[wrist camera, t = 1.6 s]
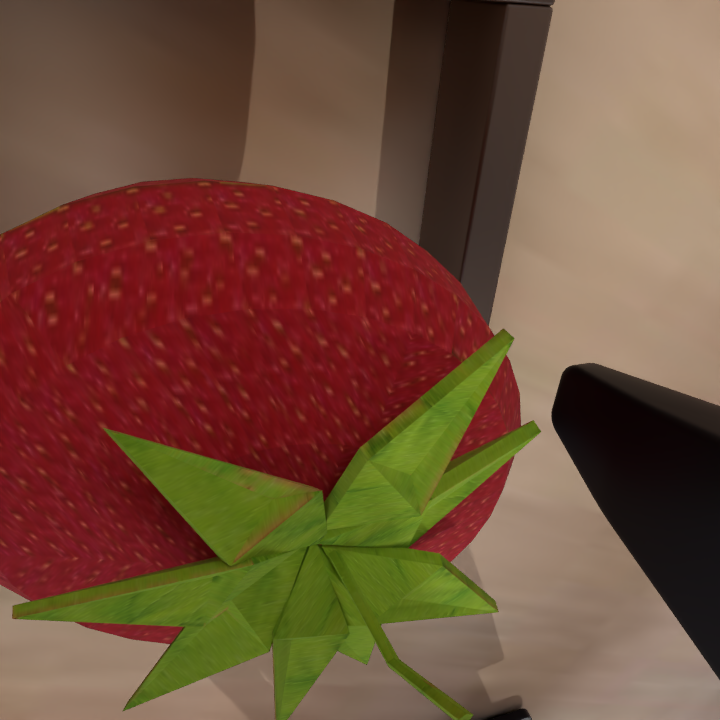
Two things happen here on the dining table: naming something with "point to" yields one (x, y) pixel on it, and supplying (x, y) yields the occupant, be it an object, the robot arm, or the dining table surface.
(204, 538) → the strawberry
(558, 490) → the dining table surface
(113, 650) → the dining table surface
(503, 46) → the brown divided wooden frame
